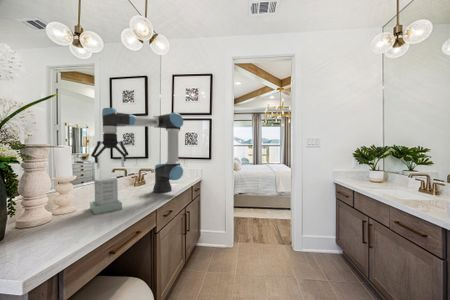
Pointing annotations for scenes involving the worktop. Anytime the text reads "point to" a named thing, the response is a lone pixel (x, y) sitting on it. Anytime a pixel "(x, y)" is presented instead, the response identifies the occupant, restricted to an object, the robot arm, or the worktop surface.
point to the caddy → (105, 207)
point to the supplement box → (106, 191)
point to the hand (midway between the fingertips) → (111, 167)
